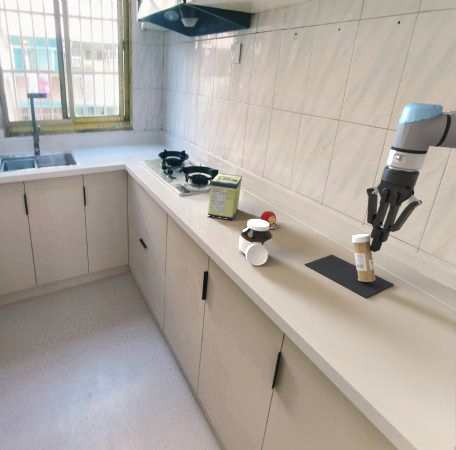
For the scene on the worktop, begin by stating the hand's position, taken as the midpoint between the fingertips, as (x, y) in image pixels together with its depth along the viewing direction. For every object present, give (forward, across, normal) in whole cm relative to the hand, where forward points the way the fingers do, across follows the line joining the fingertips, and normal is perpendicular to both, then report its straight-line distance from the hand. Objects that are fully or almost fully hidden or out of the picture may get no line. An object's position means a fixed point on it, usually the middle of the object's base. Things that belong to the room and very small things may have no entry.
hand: (374, 250), depth 95 cm
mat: (+11, -5, 0) cm, 12 cm away
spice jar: (+10, +1, 0) cm, 10 cm away
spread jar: (+12, -26, -18) cm, 34 cm away
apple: (+11, -43, +6) cm, 45 cm away
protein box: (+12, -62, -1) cm, 63 cm away
